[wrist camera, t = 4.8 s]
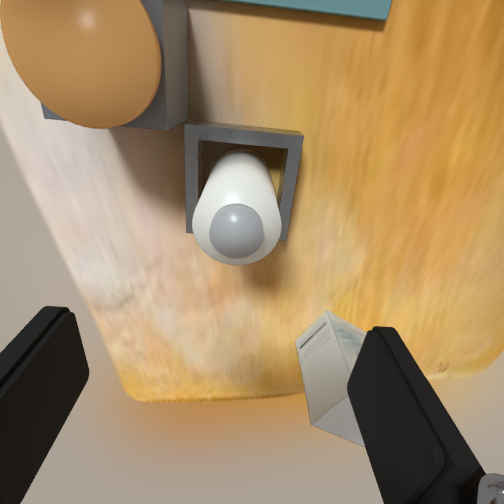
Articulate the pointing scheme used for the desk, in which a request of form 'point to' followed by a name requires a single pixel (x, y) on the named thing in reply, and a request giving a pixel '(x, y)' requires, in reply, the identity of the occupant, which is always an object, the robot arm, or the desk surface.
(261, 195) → the cylinder
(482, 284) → the desk surface
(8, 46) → the plunger
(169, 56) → the plunger housing
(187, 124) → the frame
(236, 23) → the desk surface
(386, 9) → the pad
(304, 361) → the skincare box
